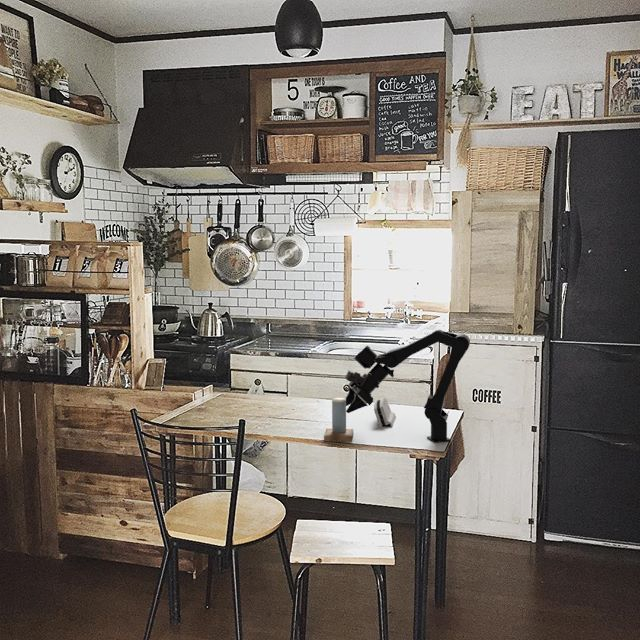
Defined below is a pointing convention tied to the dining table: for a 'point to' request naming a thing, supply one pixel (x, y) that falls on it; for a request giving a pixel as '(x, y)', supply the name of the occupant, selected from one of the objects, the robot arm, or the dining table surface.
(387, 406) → the hinge
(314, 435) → the dining table surface
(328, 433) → the stand
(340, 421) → the tin
